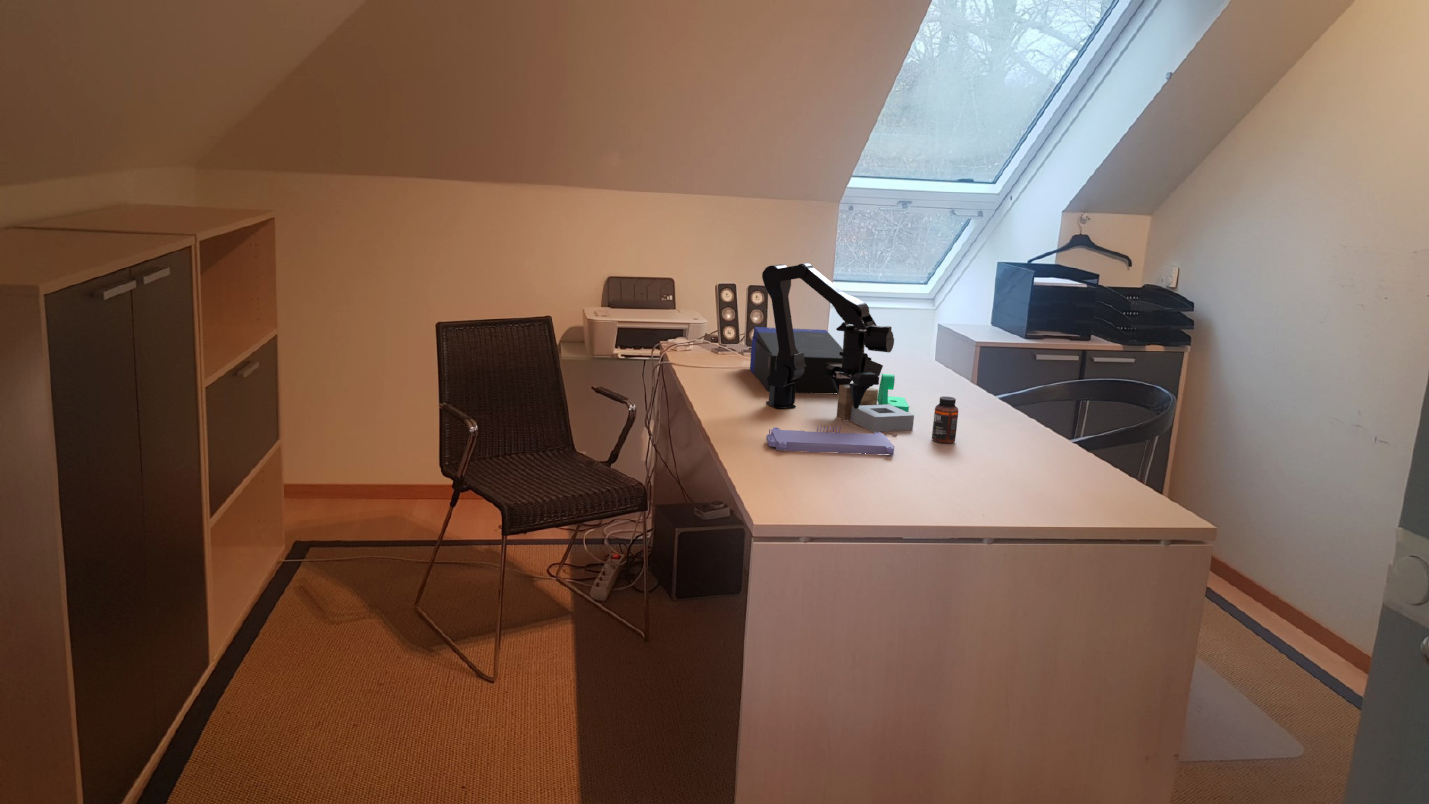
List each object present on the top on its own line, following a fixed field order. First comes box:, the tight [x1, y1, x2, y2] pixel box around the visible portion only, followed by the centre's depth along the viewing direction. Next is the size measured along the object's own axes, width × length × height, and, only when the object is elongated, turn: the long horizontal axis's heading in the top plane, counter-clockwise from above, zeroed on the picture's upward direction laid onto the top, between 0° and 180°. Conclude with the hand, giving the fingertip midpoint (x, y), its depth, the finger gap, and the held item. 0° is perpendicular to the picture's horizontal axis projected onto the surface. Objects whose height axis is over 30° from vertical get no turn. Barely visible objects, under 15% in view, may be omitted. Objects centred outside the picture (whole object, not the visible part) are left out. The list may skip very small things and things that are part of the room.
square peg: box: [836, 385, 853, 422], centre depth 285 cm, size 4×4×9 cm
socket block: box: [849, 404, 915, 433], centre depth 280 cm, size 12×12×4 cm
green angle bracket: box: [877, 373, 910, 413], centre depth 299 cm, size 12×8×10 cm, turn 177°
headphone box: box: [749, 326, 843, 395], centre depth 328 cm, size 25×35×14 cm
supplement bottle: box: [931, 395, 959, 444], centre depth 268 cm, size 6×6×11 cm
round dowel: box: [859, 387, 879, 406], centre depth 296 cm, size 6×6×6 cm
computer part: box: [765, 425, 895, 456], centre depth 256 cm, size 30×4×15 cm
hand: (849, 406), depth 284 cm, fingers open, 6 cm apart
